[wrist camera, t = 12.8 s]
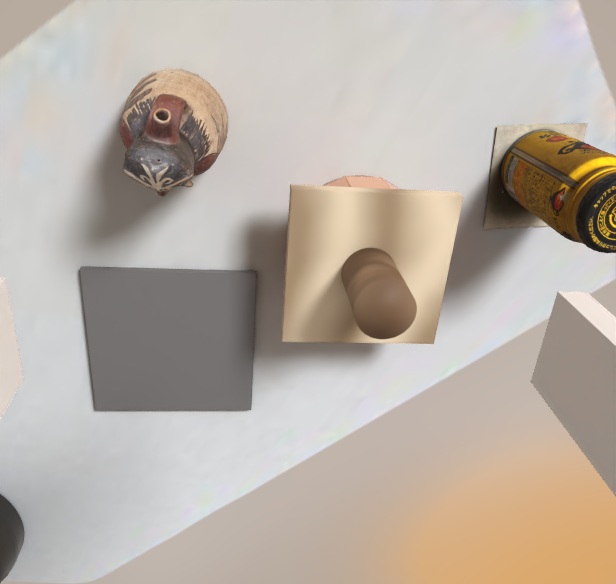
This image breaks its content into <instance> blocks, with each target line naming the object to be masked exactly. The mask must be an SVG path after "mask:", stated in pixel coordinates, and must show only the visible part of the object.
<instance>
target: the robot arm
mask: <svg viewBox="0 0 616 584" xmlns="http://www.w3.org/2000/svg"><path fill="white" fill-rule="evenodd" d="M23 380H24V377H23V371H22V366H21V360H20V355H19V349H18V343H17V338H16V332H15V326H14V321H13V315H12V310H11V304H10V298H9V293H8V287H7V282H6V278H0V419H1V418H2V416H3V414H4V413H5V411H6V409H7V407H8V406H9V404H10V402H11V401H12V399H13V397H14V395H15V394H16V392H17V390H18V389H19V387H20V385H21V383H22V382H23ZM531 383H532V384H533V386H534V387H535V388H536V389H537V391H538V392H539V394H540V395H541V396H542V398H543V399H544V400H545V402H546V403H547V404H548V406H549V407H550V409H551V410H552V411H553V413H554V414H555V415H556V417H557V418H558V419H559V420H560V422H561V423H562V425H563V426H564V427H565V429H566V430H567V431H568V433H569V434H570V436H571V437H572V438H573V440H574V441H575V442H576V443H577V445H578V446H579V447H580V449H581V450H582V452H583V453H584V454H585V456H586V457H587V458H588V460H589V461H590V462H591V464H592V465H593V466H594V468H595V469H596V471H597V472H598V473H599V475H600V476H601V477H602V479H603V480H604V481H605V483H606V484H607V485H608V487H609V488H610V489H611V491H612V492H613V493H614V495H615V496H616V317H614V316H613V315H612V314H611V313H610V312H609V311H608V310H606V309H605V308H604V307H603V306H601V304H599V303H598V302H597V301H596V300H595V299H594V298H593V297H591V296H590V295H589V294H588V293H587V292H559V291H558V292H557V296H556V299H555V302H554V306H553V309H552V312H551V316H550V319H549V322H548V326H547V329H546V332H545V336H544V339H543V342H542V346H541V349H540V353H539V356H538V359H537V363H536V366H535V369H534V373H533V376H532V379H531ZM23 541H24V527H23V523H22V520H21V518H20V516H19V514H18V512H17V511H16V509H15V508H14V507H13V506H12V504H11V503H10V502H9V501H8V500H7V499H6V498H4V497H3V496H2V495H1V494H0V583H1V581H2V580H3V579H4V578H5V577H6V576H7V575H8V574H9V572H10V571H11V569H12V568H13V566H14V564H15V562H16V559H17V557H18V555H19V552H20V550H21V547H22V545H23Z"/></svg>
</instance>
